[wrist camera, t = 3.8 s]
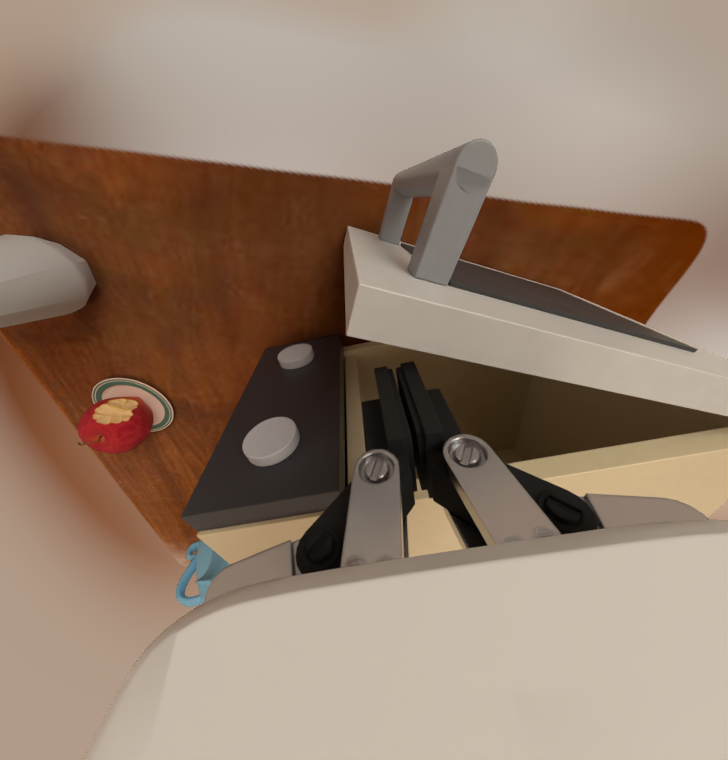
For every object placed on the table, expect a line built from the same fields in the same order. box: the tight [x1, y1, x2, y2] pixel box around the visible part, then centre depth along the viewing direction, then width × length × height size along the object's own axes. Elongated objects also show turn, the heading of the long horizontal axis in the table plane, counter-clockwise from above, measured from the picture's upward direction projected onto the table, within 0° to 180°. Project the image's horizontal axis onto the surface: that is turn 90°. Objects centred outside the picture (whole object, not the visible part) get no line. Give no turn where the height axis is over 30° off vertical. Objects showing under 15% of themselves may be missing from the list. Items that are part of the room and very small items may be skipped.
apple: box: [78, 378, 174, 453], centre depth 28 cm, size 8×8×6 cm
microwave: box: [181, 334, 728, 564], centre depth 26 cm, size 24×30×18 cm
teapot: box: [176, 540, 230, 607], centre depth 40 cm, size 16×20×14 cm
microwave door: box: [343, 139, 728, 416], centre depth 16 cm, size 6×22×18 cm, turn 75°
